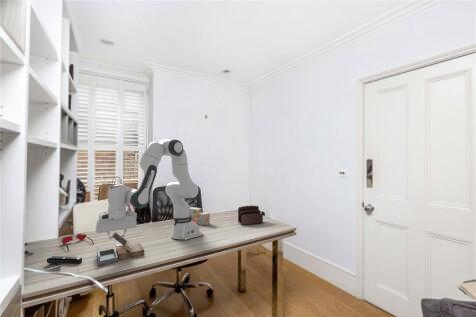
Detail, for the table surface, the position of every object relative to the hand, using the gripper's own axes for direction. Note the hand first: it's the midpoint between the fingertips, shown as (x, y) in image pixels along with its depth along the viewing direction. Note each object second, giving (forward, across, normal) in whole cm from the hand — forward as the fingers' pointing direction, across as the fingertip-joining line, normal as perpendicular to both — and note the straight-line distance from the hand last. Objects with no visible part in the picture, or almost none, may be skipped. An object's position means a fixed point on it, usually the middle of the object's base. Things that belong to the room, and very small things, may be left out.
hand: (116, 238), depth 126 cm
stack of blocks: (+11, -67, -39) cm, 78 cm away
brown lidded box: (+11, -106, -14) cm, 107 cm away
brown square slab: (+10, -7, 0) cm, 13 cm away
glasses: (+11, +18, -35) cm, 41 cm away
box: (+10, +5, 0) cm, 12 cm away
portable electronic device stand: (+11, +24, -8) cm, 27 cm away
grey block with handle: (+6, -6, 0) cm, 8 cm away
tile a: (+8, -2, -3) cm, 8 cm away
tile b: (+8, -2, +3) cm, 8 cm away
